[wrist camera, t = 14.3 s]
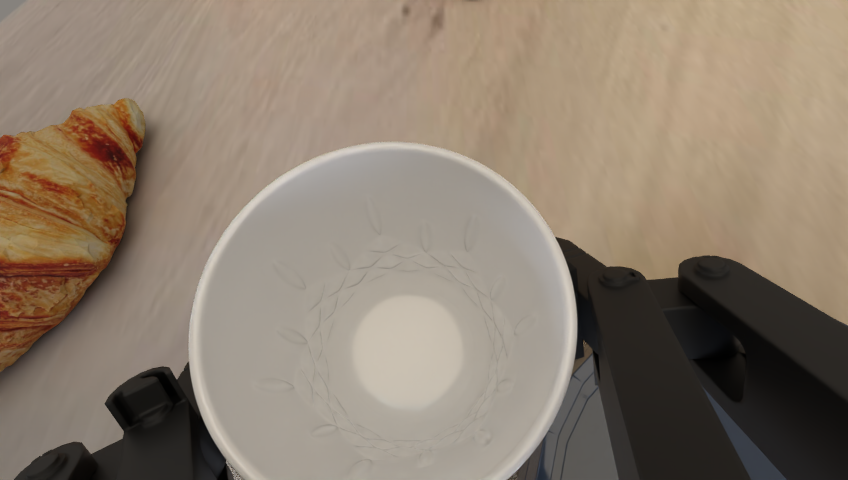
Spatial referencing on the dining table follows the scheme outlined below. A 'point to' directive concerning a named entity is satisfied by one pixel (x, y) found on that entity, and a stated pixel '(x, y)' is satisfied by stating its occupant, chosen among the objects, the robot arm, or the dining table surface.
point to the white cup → (383, 322)
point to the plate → (590, 443)
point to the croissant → (61, 215)
